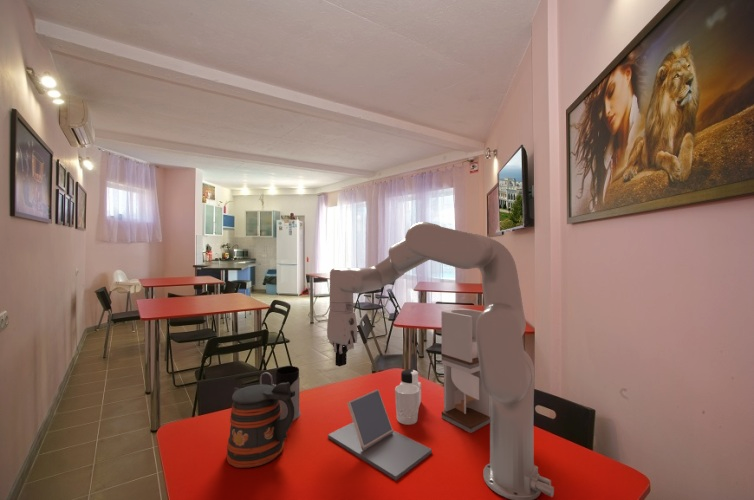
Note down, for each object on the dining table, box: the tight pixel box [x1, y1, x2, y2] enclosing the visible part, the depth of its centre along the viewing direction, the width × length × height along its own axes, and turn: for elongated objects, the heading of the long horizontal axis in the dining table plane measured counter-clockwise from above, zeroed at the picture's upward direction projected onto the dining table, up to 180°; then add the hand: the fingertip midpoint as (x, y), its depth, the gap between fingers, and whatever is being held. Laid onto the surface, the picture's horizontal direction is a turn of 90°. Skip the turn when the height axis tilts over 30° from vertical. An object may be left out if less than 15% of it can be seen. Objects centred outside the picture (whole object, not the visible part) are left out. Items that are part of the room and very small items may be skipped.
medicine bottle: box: [399, 368, 422, 409], centre depth 117 cm, size 7×7×12 cm
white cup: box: [394, 384, 420, 426], centre depth 106 cm, size 8×8×10 cm
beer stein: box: [226, 382, 295, 469], centre depth 88 cm, size 19×15×20 cm
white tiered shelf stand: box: [440, 307, 490, 434], centre depth 106 cm, size 11×11×35 cm
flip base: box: [327, 421, 433, 481], centre depth 92 cm, size 26×15×1 cm, turn 46°
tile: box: [346, 388, 394, 450], centre depth 94 cm, size 13×12×1 cm
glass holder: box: [259, 365, 302, 421], centre depth 109 cm, size 9×14×15 cm, turn 81°
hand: (340, 364), depth 103 cm, fingers closed
